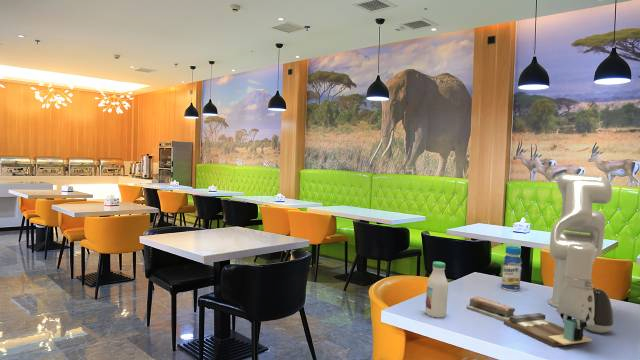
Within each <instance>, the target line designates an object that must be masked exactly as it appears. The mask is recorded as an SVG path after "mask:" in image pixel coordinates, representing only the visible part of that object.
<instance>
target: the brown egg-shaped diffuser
mask: <svg viewBox="0 0 640 360" xmlns="http://www.w3.org/2000/svg"><path fill="white" fill-rule="evenodd" d="M592 290H593V293H594V307H595V308H594V319H593V320H594V323H595V324H594V325H589V326H587V327H586V328H585V329H587V331H590V332H592V333H596V334H597V333H598V334H605V333H607V332H609V331H610V330H611V329H612V327H613V325H614V322H615V321H614V311H613V306H612V304H611V300H610V297H609V294H608V293H607V292H606V291H605V290H603V289H601V288H595V287H592ZM586 322H587V318H586Z"/></svg>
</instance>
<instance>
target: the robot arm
mask: <svg viewBox="0 0 640 360" xmlns="http://www.w3.org/2000/svg"><path fill="white" fill-rule="evenodd" d="M557 188H558V191H559V192H560V195H561V198H562V203H561V211H560V212H561V214H560V218H559V219H558V220H557V221H556V222H555V223H554V225H553V226H552V228H551V232H550V235H549V237H550V239H549V255H550V258H552V259H553V260H555V262H554V273H553V274H554V275H553V287H552V298H549V299H548V300H547V301H548V302H547V303H548V305H550V306H553V307H555V308H556V310H555V311H556V313H557V314H558V315H559V316H560V318H561V319H562V323H563V325H564V324H565V320H570V319H576V324H577V328H575V332H574V340H576V341H578V340H582V338H583V336H584V329H587V328H586V327H587V326H589V325H594V324H595V323H594V320H593V319H594V308H595V307H594V293H593V288H594V283H593V282H592V273H593V264H594V262H595V261H596V260H597V258H598V257H600V255H602V252H603V245H604V239H605V238H604V237H605V231H606V217H605V214H604V213H603V212H602V211H599V210H595V209H593V204H601V205H607V204H609V203H610V202H611V201H612V197H613V189H612V183H611V181H610V179H609V178H608V177H607V176H605V175H594V174H593V175H591V174H578V173H563V174H560V175H559V176H558V177H557ZM586 318H587V322H586Z"/></svg>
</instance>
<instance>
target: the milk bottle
mask: <svg viewBox="0 0 640 360" xmlns="http://www.w3.org/2000/svg"><path fill="white" fill-rule="evenodd" d="M445 270H446V262H442V261H433V262H432V272H431V274H430V276H429V278H428V279H427V286H426V296H425V308H424V309H425V310H424V312H425V314H426V315H427V316H429V317H432V318H438V319H439V318H440V319H441V318H442V319H443V318H445V317H446V316H447V307H448V294H449V293H448V291H449V283H448V280H447V277H446V274H445Z"/></svg>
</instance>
